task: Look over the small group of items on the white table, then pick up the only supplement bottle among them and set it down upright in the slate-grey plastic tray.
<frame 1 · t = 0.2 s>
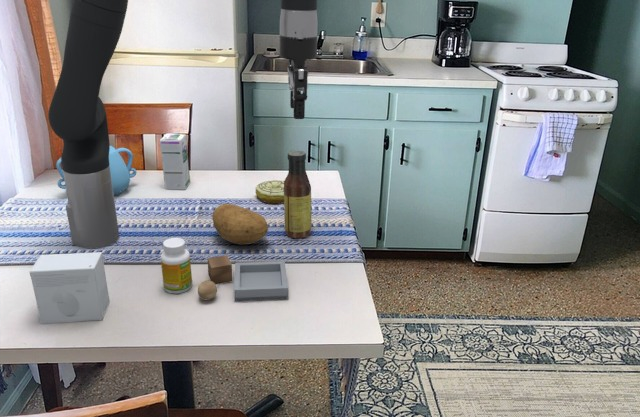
hand: (297, 113, 115), 29 cm above the table, tool pointing down, fingers open, 8 cm apart
sauce bottle: (297, 234, 128), on the table
potato: (241, 242, 124), on the table
decorated donut: (275, 198, 148), on the table
syrup box: (177, 186, 152), on the table
cork ball: (207, 290, 102), point 2 cm above the table
decorative pot: (100, 192, 147), on the table
walnut block: (220, 278, 109), on the table
tray: (260, 285, 107), on the table
supplement bottle: (178, 287, 106), on the table
skincare box: (76, 312, 98), on the table
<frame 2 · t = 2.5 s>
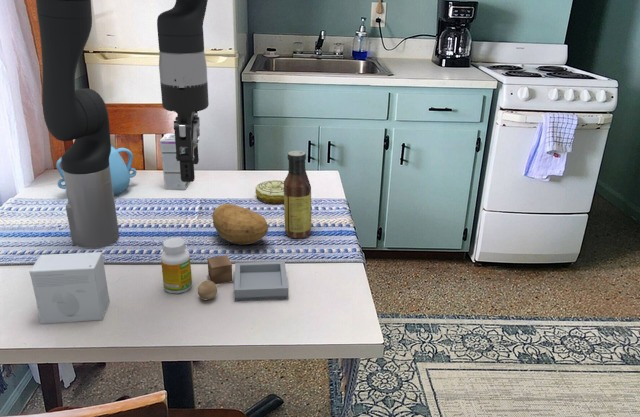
hand: (190, 172, 96), 24 cm above the table, tool pointing down, fingers open, 8 cm apart
nothing on the table moved.
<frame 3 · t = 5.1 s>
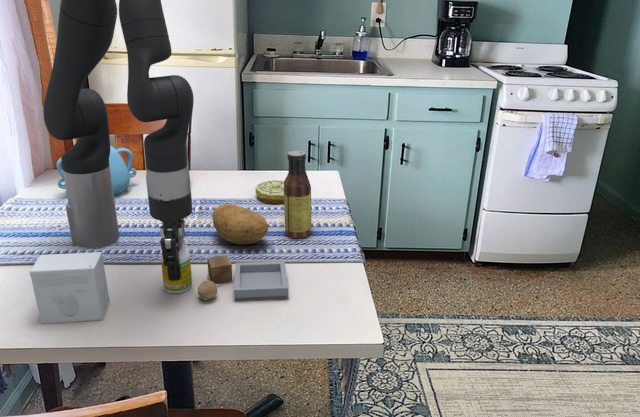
hand: (176, 270, 105), 4 cm above the table, tool pointing down, fingers closed on supplement bottle, 5 cm apart
supplement bottle: (178, 287, 106), on the table, touching gripper
everything else where it was.
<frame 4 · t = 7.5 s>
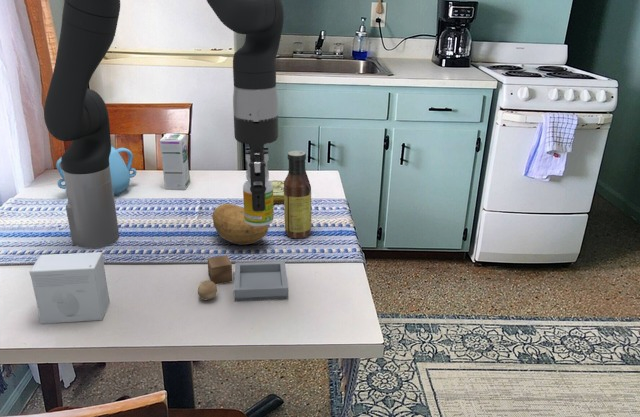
hand: (258, 203, 99), 18 cm above the table, tool pointing down, fingers closed on supplement bottle, 5 cm apart
supplement bottle: (259, 221, 101), point 14 cm above the table, touching gripper
everything else where it was.
when the fingers open (5 cm above the table, at t = 10.3 s): supplement bottle drops 1 cm, resting on tray.
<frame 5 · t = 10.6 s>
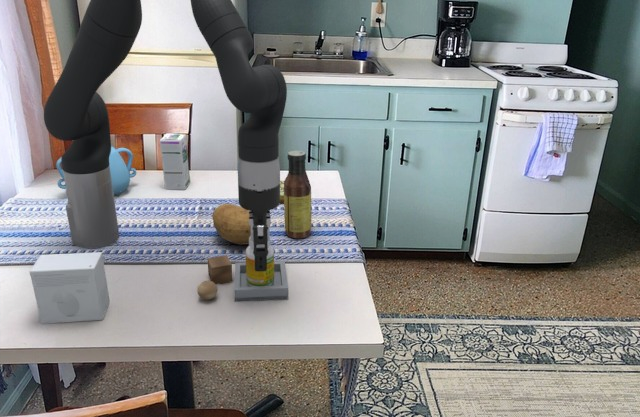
hand: (260, 259, 105), 6 cm above the table, tool pointing down, fingers open, 8 cm apart
supplement bottle: (260, 282, 107), point 1 cm above the table, touching tray
everything else where it was.
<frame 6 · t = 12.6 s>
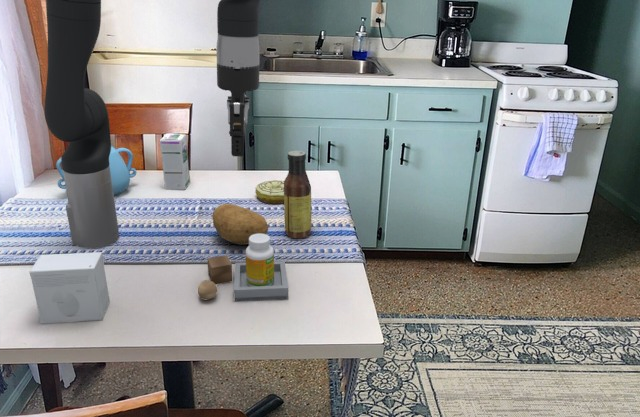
hand: (238, 148, 104), 26 cm above the table, tool pointing down, fingers open, 8 cm apart
nothing on the table moved.
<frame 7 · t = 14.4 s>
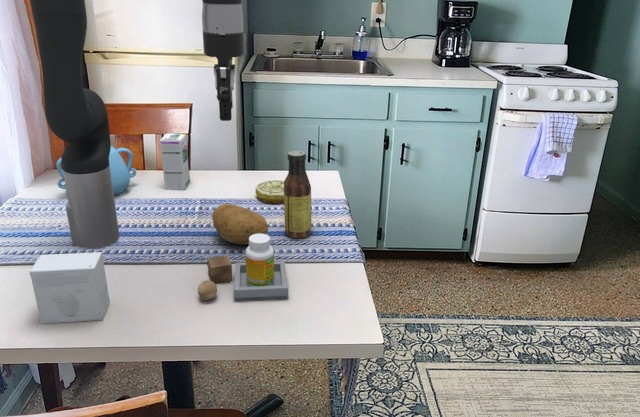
hand: (226, 114, 108), 30 cm above the table, tool pointing down, fingers open, 8 cm apart
nothing on the table moved.
at the end: supplement bottle inside the target area on the tray (0.2 cm from its centre), point 0.6 cm above the tray's base; supplement bottle tilted 0°; the gripper is holding nothing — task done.
